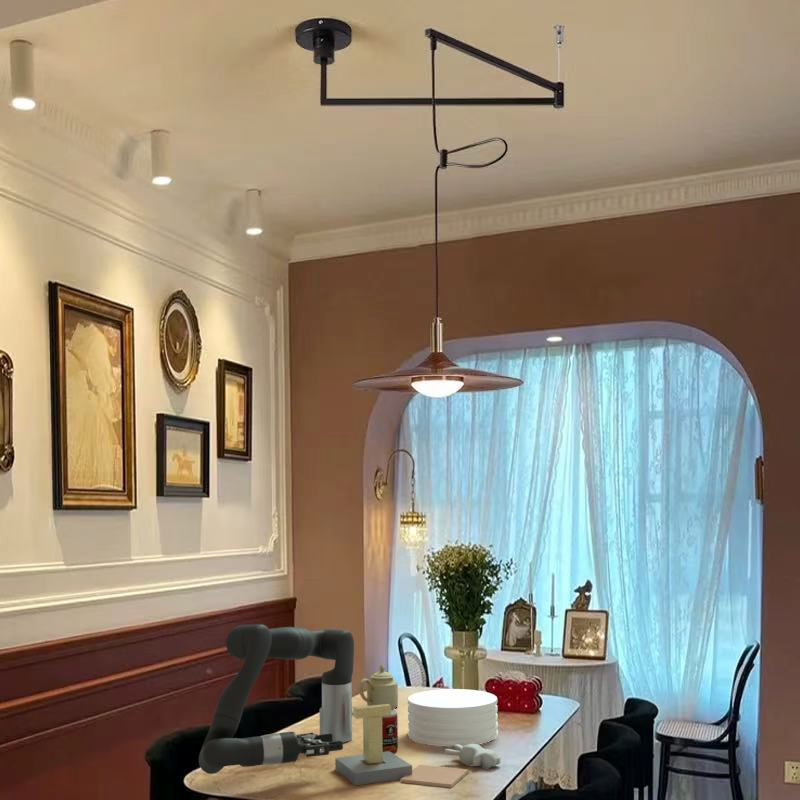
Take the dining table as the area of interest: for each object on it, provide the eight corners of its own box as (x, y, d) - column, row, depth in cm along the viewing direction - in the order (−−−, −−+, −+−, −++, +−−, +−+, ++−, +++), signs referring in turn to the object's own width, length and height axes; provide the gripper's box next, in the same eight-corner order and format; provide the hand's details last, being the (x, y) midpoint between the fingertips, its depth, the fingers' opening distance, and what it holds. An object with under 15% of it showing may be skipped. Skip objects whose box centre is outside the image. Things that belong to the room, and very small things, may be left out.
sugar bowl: (386, 713, 319) (386, 669, 321) (357, 711, 323) (357, 667, 325) (402, 704, 333) (401, 662, 335) (374, 702, 337) (373, 660, 339)
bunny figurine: (489, 757, 248) (442, 743, 257) (488, 776, 248) (440, 762, 257) (505, 749, 256) (459, 736, 265) (504, 768, 256) (457, 754, 264)
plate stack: (466, 752, 269) (465, 711, 270) (390, 739, 286) (389, 700, 287) (514, 732, 291) (513, 695, 292) (441, 721, 308) (441, 685, 309)
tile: (400, 782, 240) (400, 779, 241) (419, 767, 253) (419, 764, 253) (451, 787, 235) (451, 784, 235) (468, 772, 248) (468, 769, 248)
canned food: (379, 755, 266) (378, 716, 267) (367, 749, 273) (366, 711, 274) (402, 752, 270) (402, 713, 271) (390, 746, 277) (389, 708, 278)
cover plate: (355, 785, 238) (355, 773, 239) (335, 769, 253) (335, 758, 253) (412, 777, 245) (412, 765, 245) (389, 762, 259) (389, 751, 260)
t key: (358, 777, 245) (357, 709, 247) (353, 773, 249) (352, 706, 251) (393, 772, 249) (392, 706, 251) (387, 769, 253) (386, 703, 254)
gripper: (285, 739, 234) (345, 732, 240) (270, 727, 247) (328, 721, 253) (285, 770, 233) (346, 762, 239) (270, 756, 246) (328, 749, 252)
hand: (337, 741), depth 246 cm, fingers open, 8 cm apart
